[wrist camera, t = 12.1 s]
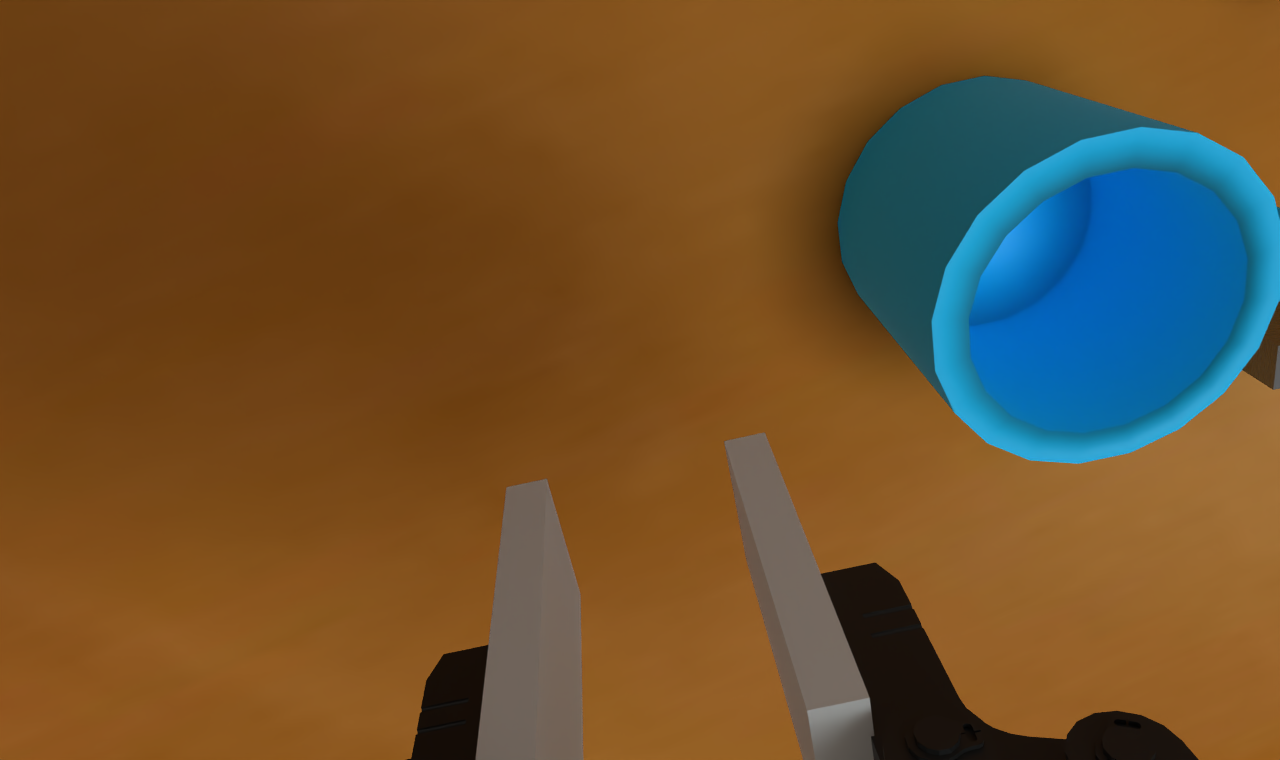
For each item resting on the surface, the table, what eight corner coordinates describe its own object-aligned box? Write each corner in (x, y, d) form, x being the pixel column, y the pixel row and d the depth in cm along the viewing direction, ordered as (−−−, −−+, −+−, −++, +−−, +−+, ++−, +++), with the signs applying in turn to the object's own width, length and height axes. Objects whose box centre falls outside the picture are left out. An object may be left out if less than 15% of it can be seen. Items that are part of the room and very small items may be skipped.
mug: (831, 344, 30) (916, 475, 23) (844, 83, 27) (949, 138, 19) (1189, 320, 31) (1386, 440, 23) (1249, 60, 27) (1503, 105, 20)
